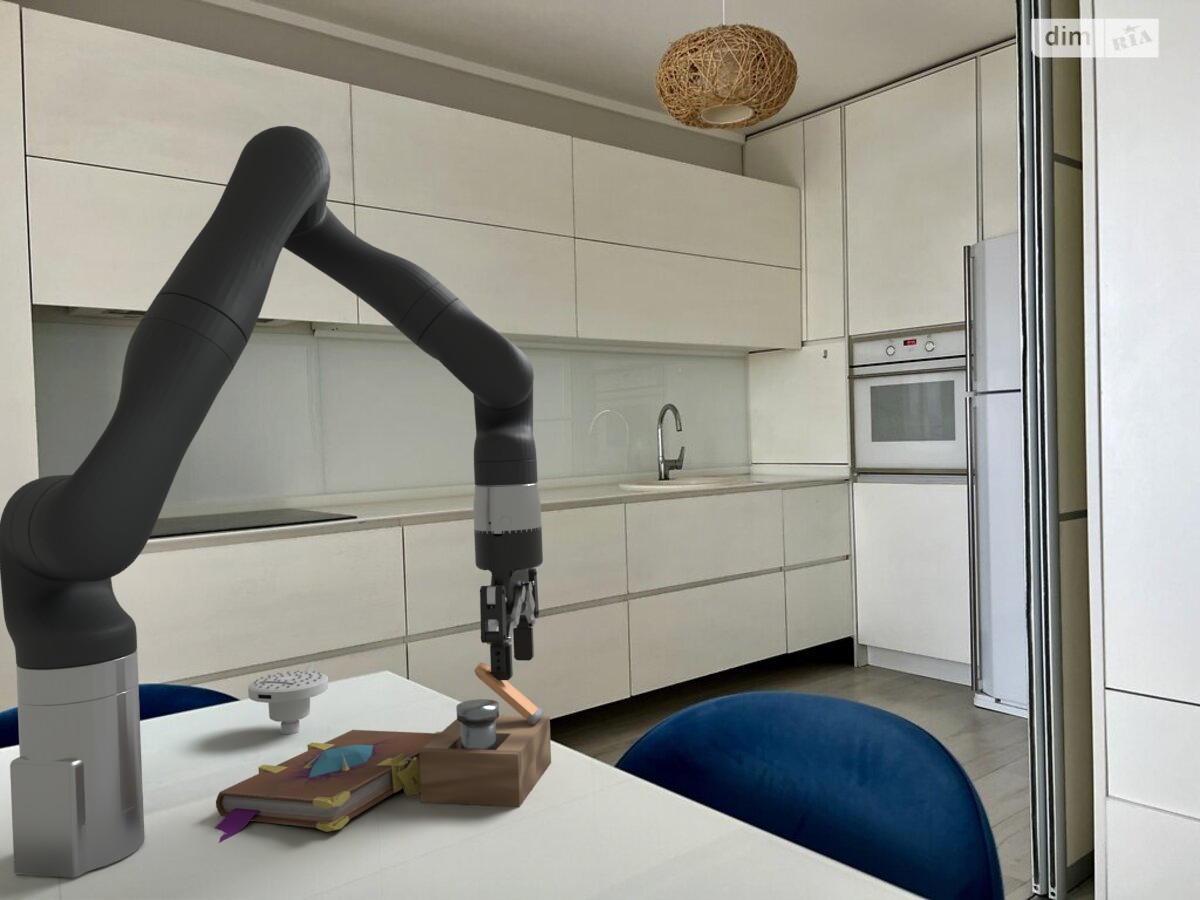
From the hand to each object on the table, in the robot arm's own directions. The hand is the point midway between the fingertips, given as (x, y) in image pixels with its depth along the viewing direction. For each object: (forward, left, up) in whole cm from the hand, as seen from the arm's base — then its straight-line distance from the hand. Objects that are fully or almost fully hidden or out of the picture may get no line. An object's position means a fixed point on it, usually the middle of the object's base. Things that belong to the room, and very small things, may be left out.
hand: (513, 669), depth 101 cm
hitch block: (-8, 0, -10) cm, 13 cm away
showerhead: (+6, +31, -10) cm, 33 cm away
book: (-14, +15, -10) cm, 23 cm away
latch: (-4, 0, -2) cm, 5 cm away
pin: (-11, +1, -10) cm, 14 cm away
